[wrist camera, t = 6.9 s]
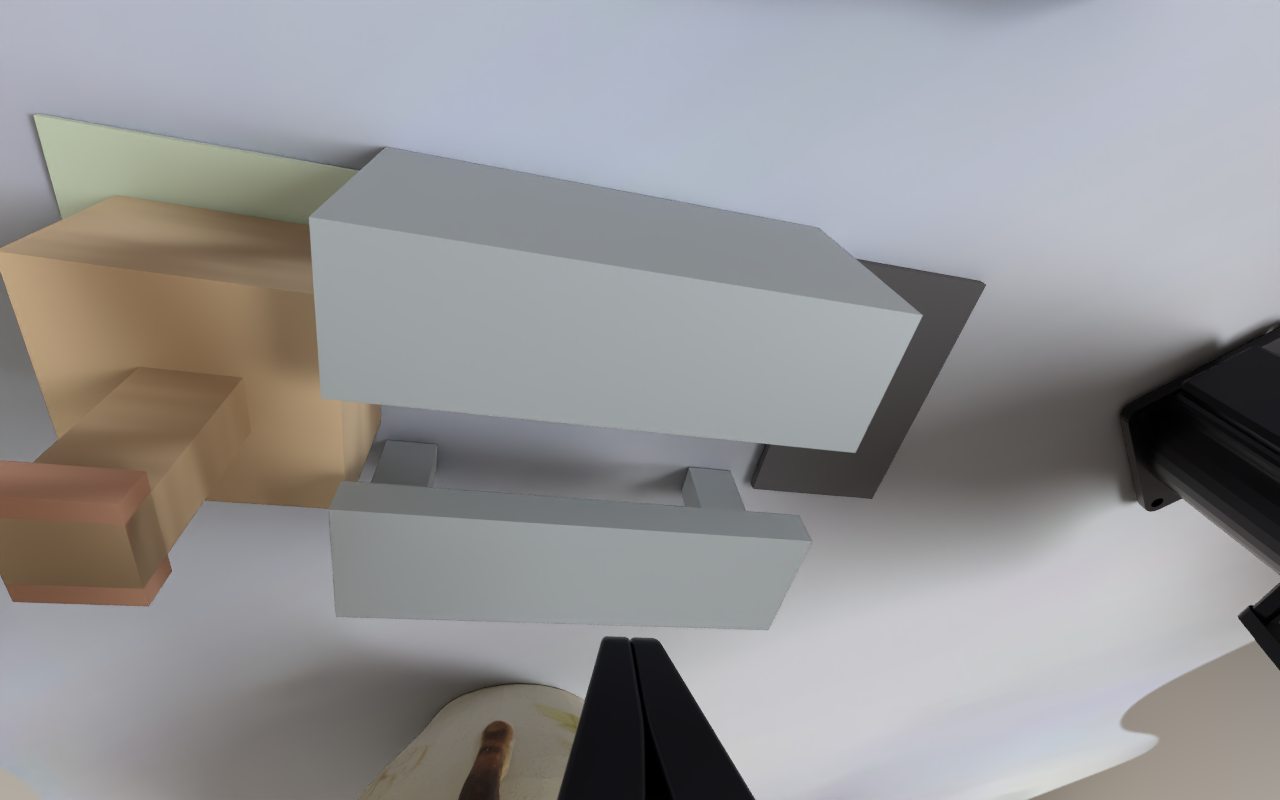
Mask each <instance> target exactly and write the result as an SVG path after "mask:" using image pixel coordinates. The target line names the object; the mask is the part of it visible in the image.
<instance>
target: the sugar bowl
mask: <svg viewBox="0 0 1280 800" xmlns="http://www.w3.org/2000/svg"><path fill="white" fill-rule="evenodd" d="M584 702H585V701H583V700H582V699H580V698H579V697H577V696H575V695H573V694H571V693H569V692H567V691H564V690H561V689H557V688H552V687H548V686H543V685H525V684H512V685H501V686H495V687H489V688H483V689H480V690H477V691H474V692H471V693H468V694H465V695H463V696H460V697H458V698H457V699H455V700H453V701H451V702H450V703H449V704H447V705H446V706H445V707H444V708H442V709H441V710H440V711H439V712H438V713H437V715H436V716H435V717H434V718H433V719H432V721H431V722H430V723H429V724H428V726H427V727H426V728H425V729H424V730H423V731H422V732H421V733H420V734H419V735H418V736H417V737H416V738H415V739H414V740H413V741H412V742H411V743H410V744H409V745H408V746H407V747H406V748H405V749H404V750H403V751H402V752H401V753H400V754H399V755H398V756H397V757H396V758H395V759H394V760H393V761H392V762H391V763H390V764H389V765H388V766H387V767H386V768H385V769H384V770H383V771H382V772H381V773H380V774H379V775H378V776H377V777H376V779H375V780H374V781H373V782H372V783H371V784H370V785H369V786H368V788H367V789H366V790H365V791H364V793H363V794H362V795H361V796H360V798H359V799H358V800H557V797H558V794H559V790H560V787H561V783H562V780H563V776H564V773H565V769H566V765H567V762H568V758H569V755H570V751H571V748H572V744H573V741H574V737H575V733H576V730H577V726H578V723H579V719H580V716H581V712H582V709H583V705H584Z"/></svg>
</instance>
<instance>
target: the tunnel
mask: <svg viewBox="0 0 1280 800" xmlns="http://www.w3.org/2000/svg"><path fill="white" fill-rule="evenodd" d="M309 227H310V242H311V257H312V271H313V286H314V301H315V316H316V330H317V345H318V360H319V375H320V390H321V399H330V400H340V401H350V402H359V403H369V404H379V405H389V406H399V407H409V408H419V409H428V410H438V411H448V412H458V413H468V414H478V415H487V416H497V417H507V418H517V419H527V420H537V421H546V422H556V423H566V424H576V425H586V426H596V427H605V428H615V429H625V430H635V431H645V432H655V433H664V434H674V435H684V436H694V437H704V438H714V439H723V440H733V441H743V442H753V443H763V444H773V445H782V446H792V447H802V448H812V449H822V450H832V451H842V452H851V453H856V451H857V449H858V447H859V445H860V442H861V440H862V438H863V436H864V434H865V432H866V430H867V428H868V426H869V424H870V422H871V420H872V418H873V416H874V414H875V412H876V410H877V408H878V406H879V404H880V402H881V400H882V398H883V396H884V394H885V391H886V389H887V387H888V385H889V383H890V381H891V379H892V377H893V375H894V373H895V371H896V369H897V367H898V365H899V363H900V361H901V359H902V357H903V355H904V353H905V351H906V349H907V347H908V345H909V343H910V340H911V338H912V336H913V334H914V332H915V330H916V328H917V326H918V324H919V322H920V320H921V318H922V316H923V315H922V314H921V313H920V312H918V311H917V310H916V309H915V308H914V307H912V306H911V305H910V304H909V303H908V302H906V301H905V300H904V299H903V298H902V297H901V296H899V295H898V294H897V293H896V292H895V291H893V290H892V289H891V288H890V287H889V286H887V285H886V284H885V283H884V282H883V281H882V280H880V279H879V278H878V277H877V276H876V275H874V274H873V273H872V272H871V271H870V270H868V269H867V268H866V267H865V266H864V265H862V264H861V263H860V262H859V261H858V260H857V259H855V258H854V257H853V256H852V255H851V254H849V253H848V252H847V251H846V250H845V249H843V248H842V247H841V246H840V245H839V244H838V243H836V242H835V241H834V240H833V239H832V238H830V237H829V236H828V235H827V234H826V233H824V232H823V231H822V230H821V229H820V228H816V227H811V226H805V225H800V224H795V223H790V222H784V221H779V220H774V219H768V218H763V217H758V216H752V215H747V214H742V213H736V212H731V211H726V210H720V209H715V208H710V207H704V206H699V205H694V204H688V203H683V202H678V201H672V200H667V199H662V198H656V197H651V196H646V195H640V194H635V193H630V192H624V191H619V190H614V189H608V188H603V187H598V186H592V185H587V184H582V183H576V182H571V181H566V180H560V179H555V178H550V177H544V176H539V175H534V174H528V173H523V172H518V171H512V170H507V169H502V168H496V167H491V166H486V165H480V164H475V163H470V162H464V161H459V160H454V159H448V158H443V157H438V156H432V155H427V154H422V153H416V152H411V151H406V150H400V149H395V148H390V147H385V148H384V149H383V150H382V151H381V152H380V153H379V154H377V155H376V156H375V157H374V158H373V159H372V160H371V161H370V162H369V163H368V164H366V165H365V166H364V167H363V168H362V169H361V170H360V171H359V172H358V173H357V174H356V175H354V176H353V177H352V178H351V179H350V180H349V181H348V182H347V183H346V184H345V185H343V186H342V187H341V188H340V189H339V190H338V191H337V192H336V193H335V194H334V195H332V196H331V197H330V198H329V199H328V200H327V201H326V202H325V203H324V204H323V205H321V206H320V207H319V208H318V209H317V210H316V211H315V212H314V213H313V214H312V215H310V216H309ZM436 465H437V445H436V444H425V443H414V442H403V441H392V440H386V443H385V446H384V449H383V451H382V454H381V457H380V460H379V462H378V465H377V468H376V471H375V473H374V476H373V479H372V481H371V483H364V482H351V481H341V482H340V484H339V487H338V489H337V491H336V494H335V496H334V498H333V500H332V503H331V505H330V507H329V523H330V538H331V552H332V567H333V582H334V597H335V612H336V617H361V618H393V619H426V620H458V621H491V622H523V623H555V624H588V625H620V626H653V627H685V628H718V629H750V630H769V628H770V626H771V624H772V622H773V620H774V618H775V616H776V614H777V612H778V610H779V608H780V606H781V604H782V602H783V600H784V598H785V595H786V593H787V591H788V589H789V587H790V585H791V583H792V581H793V579H794V577H795V575H796V573H797V571H798V569H799V567H800V565H801V563H802V561H803V559H804V557H805V555H806V553H807V551H808V549H809V547H810V544H811V542H812V540H811V538H810V536H809V534H808V532H807V530H806V528H805V526H804V524H803V522H802V520H801V518H800V516H799V515H788V514H775V513H762V512H749V511H746V510H745V508H744V505H743V502H742V500H741V497H740V495H739V492H738V489H737V487H736V484H735V482H734V479H733V477H732V474H731V471H725V470H714V469H702V468H691V467H689V469H688V472H687V476H686V479H685V482H684V485H683V488H682V491H681V494H682V497H683V501H684V505H685V507H682V506H669V505H656V504H642V503H629V502H616V501H603V500H589V499H576V498H563V497H550V496H536V495H523V494H510V493H497V492H483V491H470V490H457V489H444V488H433V484H434V479H435V475H436Z"/></svg>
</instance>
